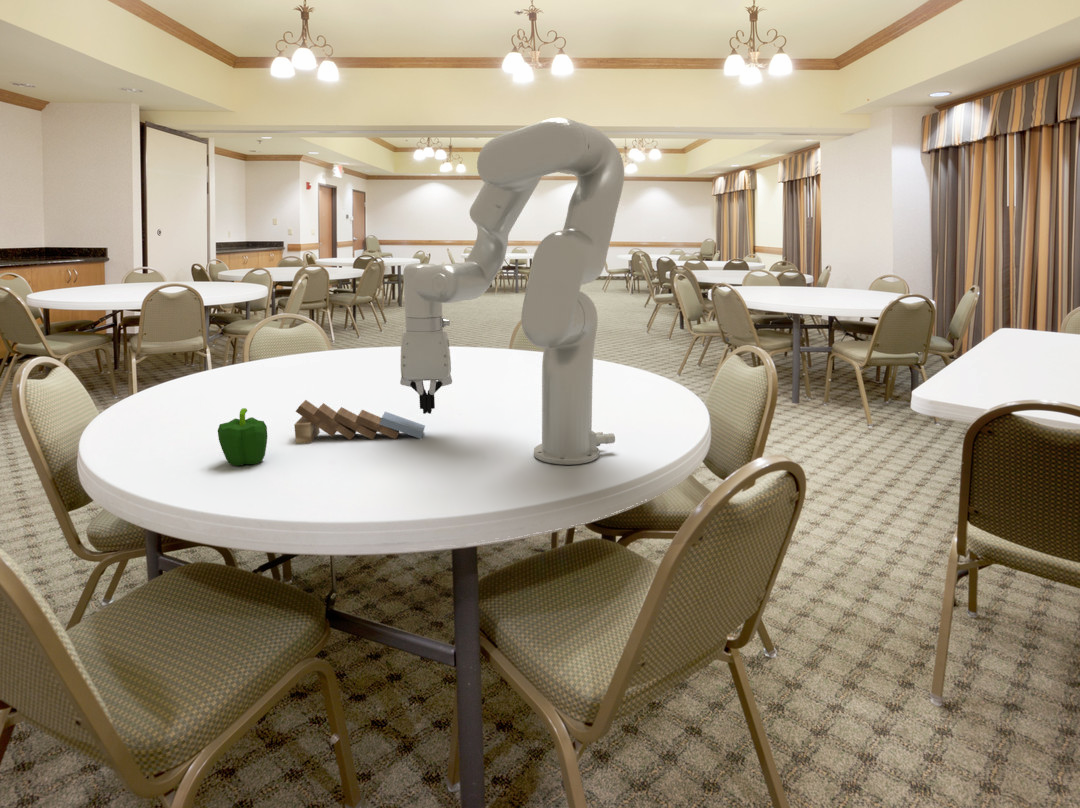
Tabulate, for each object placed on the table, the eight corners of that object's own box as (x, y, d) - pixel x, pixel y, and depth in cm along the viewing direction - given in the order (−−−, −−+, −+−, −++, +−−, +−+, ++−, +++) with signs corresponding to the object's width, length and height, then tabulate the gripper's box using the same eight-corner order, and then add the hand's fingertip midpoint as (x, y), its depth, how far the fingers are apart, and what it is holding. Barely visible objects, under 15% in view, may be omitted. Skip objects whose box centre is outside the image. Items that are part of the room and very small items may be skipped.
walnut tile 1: (401, 426, 152) (362, 409, 151) (399, 432, 147) (358, 415, 146) (398, 432, 152) (359, 416, 151) (396, 439, 148) (355, 422, 146)
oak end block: (319, 432, 152) (318, 414, 152) (310, 443, 145) (309, 424, 144) (305, 432, 152) (303, 414, 151) (295, 443, 144) (294, 424, 144)
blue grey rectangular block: (425, 425, 152) (385, 411, 151) (423, 431, 148) (381, 417, 146) (422, 432, 153) (382, 418, 151) (420, 438, 148) (379, 424, 146)
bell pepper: (253, 471, 128) (248, 417, 125) (213, 468, 129) (206, 415, 127) (279, 457, 136) (274, 406, 133) (240, 454, 137) (235, 404, 135)
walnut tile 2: (379, 427, 152) (341, 406, 150) (376, 433, 147) (336, 412, 145) (376, 433, 152) (337, 413, 150) (372, 439, 147) (333, 419, 145)
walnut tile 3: (358, 427, 151) (323, 403, 150) (354, 434, 147) (318, 408, 145) (354, 433, 152) (318, 408, 150) (350, 440, 147) (313, 414, 145)
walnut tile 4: (341, 424, 151) (305, 399, 149) (337, 431, 146) (299, 405, 144) (337, 430, 151) (301, 405, 149) (332, 437, 146) (295, 411, 144)
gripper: (461, 322, 149) (463, 407, 153) (389, 323, 148) (393, 408, 152) (460, 327, 142) (462, 415, 146) (384, 328, 141) (389, 417, 145)
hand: (427, 411), depth 149 cm, fingers closed
